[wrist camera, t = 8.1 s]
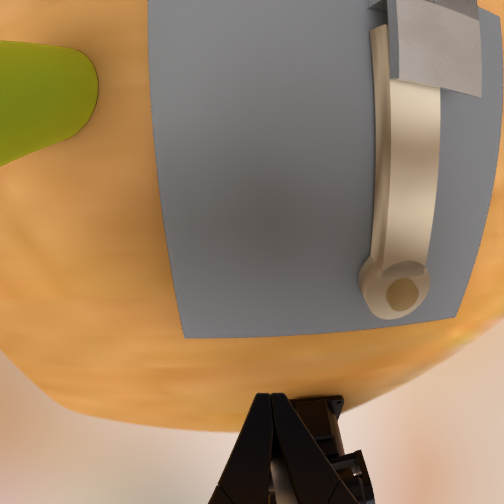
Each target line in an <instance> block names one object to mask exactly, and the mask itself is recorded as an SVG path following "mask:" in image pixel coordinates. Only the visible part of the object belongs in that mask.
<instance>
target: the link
mask: <svg viewBox="0 0 504 504" xmlns="http://www.w3.org/2000/svg"><path fill="white" fill-rule="evenodd" d="M370 38H371V48H372V60H373V73H374V90H375V117H376V171H375V199H374V217H373V231H372V244H371V255H370V256H369V257H368V258H367V260H366V261H365V262H364V264H363V265H362V267H361V269H360V272H359V276H358V285H359V289H360V291H361V293H362V295H363V297H364V299H365V301H366V303H367V305H368V307H369V309H370V310H371V312H372V313H373V314H374V315H375V316H377V317H379V318H381V319H387V320H391V319H397V318H400V317H403V316H405V315H407V314H409V313H411V312H412V311H413V310H415V309H416V308H417V307H418V306H419V305H420V304H421V303H422V301H423V300H424V299H425V297H426V295H427V293H428V290H429V287H430V275H429V272H428V270H427V268H426V267H425V265H426V259H427V254H428V248H429V242H430V236H431V230H432V223H433V216H434V208H435V199H436V190H437V179H438V167H439V150H440V88H435V87H431V86H426V85H421V84H416V83H411V82H406V81H400V80H394V79H390V52H389V25H386V24H384V25H382V26H379V27H377V28H374V29H372V30H370Z"/></svg>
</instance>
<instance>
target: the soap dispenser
mask: <svg viewBox="0 0 504 504" xmlns="http://www.w3.org/2000/svg"><path fill="white" fill-rule="evenodd" d="M97 95H98V79H97V74H96V71H95V68H94V66H93V64H92V63H91V61H90V60H89V58H88V57H87V56H86V55H84V54H83V53H82V52H80V51H78V50H75V49H72V48H66V47H59V46H52V45H44V44H35V43H26V42H14V41H0V166H2V165H5V164H7V163H9V162H11V161H13V160H16V159H18V158H20V157H23V156H25V155H27V154H30V153H32V152H35V151H37V150H39V149H42V148H44V147H47V146H50V145H52V144H55V143H58V142H60V141H63V140H66V139H68V138H70V137H72V136H73V135H75V134H76V133H78V132H79V131H80V130H81V129H82V128H83V127H84V125H85V124H86V123H87V121H88V120H89V118H90V117H91V115H92V113H93V110H94V108H95V105H96V101H97Z"/></svg>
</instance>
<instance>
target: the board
mask: <svg viewBox="0 0 504 504" xmlns="http://www.w3.org/2000/svg"><path fill="white" fill-rule="evenodd" d="M478 15H479V25H480V37H481V58H482V94H481V98H478V97H472V96H467V95H464V94H460V93H456V92H452V91H448V90H444V89H440V150H439V167H438V179H437V190H436V199H435V208H434V216H433V223H432V230H431V236H430V242H429V248H428V254H427V259H426V265H425V267H426V268H427V270H428V272H429V275H430V287H429V290H428V293H427V295H426V297H425V299H424V300H423V301H422V303H421V304H420V305H419V306H418V307H417V308H416V309H415V310H413V311H412V312H411V313H409V314H407V315H405V316H403V317H400V318H397V319H391V320H387V319H381V318H379V317H377V316H375V315H374V314H373V313H372V312H371V310H370V309H369V307H368V305H367V303H366V301H365V299H364V297H363V295H362V293H361V291H360V289H359V285H358V276H359V272H360V269H361V267H362V265H363V264H364V262H365V261H366V260H367V258H368V257H369V256H370V255H371V244H372V231H373V217H374V199H375V171H376V117H375V90H374V73H373V60H372V48H371V38H370V30H372V29H374V28H377V27H379V26H382V25H384V24H386V25H388V13H386V12H381V11H377V10H371V9H367V7H366V0H148V53H149V78H150V96H151V111H152V124H153V136H154V147H155V157H156V166H157V175H158V184H159V192H160V200H161V207H162V215H163V222H164V229H165V235H166V242H167V248H168V254H169V260H170V266H171V272H172V278H173V283H174V289H175V294H176V299H177V305H178V310H179V315H180V320H181V325H182V329H183V334H184V338H247V337H273V336H292V335H308V334H321V333H334V332H345V331H356V330H365V329H375V328H383V327H392V326H400V325H407V324H415V323H422V322H428V321H435V320H441V319H448V318H454V317H456V314H457V312H458V309H459V307H460V304H461V301H462V299H463V296H464V293H465V290H466V287H467V285H468V282H469V279H470V276H471V273H472V269H473V266H474V263H475V260H476V256H477V253H478V250H479V246H480V242H481V239H482V235H483V231H484V227H485V223H486V219H487V214H488V210H489V205H490V201H491V196H492V190H493V185H494V179H495V173H496V167H497V160H498V152H499V144H500V134H501V123H502V107H503V51H502V36H501V25H500V17H499V16H497V15H495V14H493V13H491V12H489V11H487V10H484V9H482V8H480V7H478Z"/></svg>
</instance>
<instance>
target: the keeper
mask: <svg viewBox="0 0 504 504" xmlns="http://www.w3.org/2000/svg"><path fill="white" fill-rule="evenodd" d="M366 7H367V9H371V10H377V11H381V12H386V13H388V25H389V52H390V79H394V80H400V81H406V82H411V83H416V84H421V85H426V86H431V87H435V88H440V89H444V90H448V91H452V92H456V93H460V94H464V95H467V96H472V97H478V98H481V94H482V58H481V37H480V25H479V15H478V6H477V0H366Z"/></svg>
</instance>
